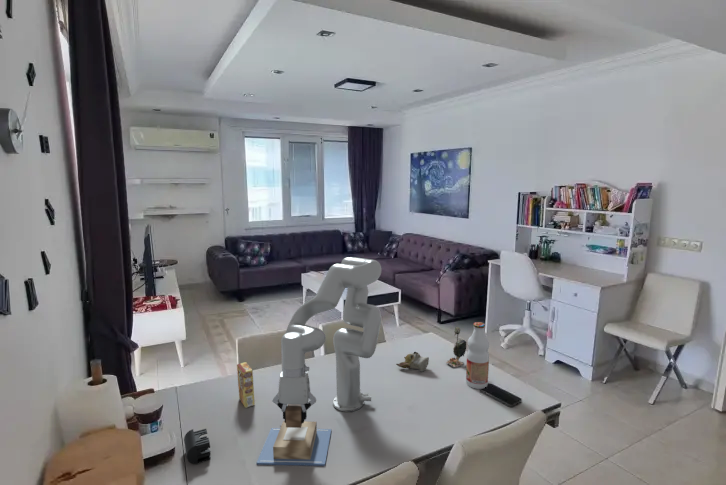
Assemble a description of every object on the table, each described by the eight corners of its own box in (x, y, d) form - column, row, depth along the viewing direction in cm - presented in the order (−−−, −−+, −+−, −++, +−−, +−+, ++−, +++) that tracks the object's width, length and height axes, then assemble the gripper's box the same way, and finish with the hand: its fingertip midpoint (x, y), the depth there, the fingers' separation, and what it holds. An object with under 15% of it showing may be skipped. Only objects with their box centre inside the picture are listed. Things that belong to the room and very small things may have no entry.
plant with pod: (471, 364, 195) (472, 325, 192) (452, 369, 191) (453, 329, 188) (460, 358, 203) (462, 320, 200) (442, 362, 198) (443, 323, 195)
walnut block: (303, 418, 137) (303, 402, 136) (300, 427, 132) (300, 410, 131) (289, 418, 137) (288, 402, 136) (285, 427, 132) (285, 410, 131)
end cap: (184, 449, 135) (183, 431, 134) (207, 443, 138) (205, 425, 137) (187, 468, 126) (185, 448, 125) (211, 460, 130) (209, 441, 128)
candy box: (255, 405, 161) (253, 369, 159) (244, 408, 159) (242, 372, 156) (248, 395, 168) (246, 361, 166) (238, 398, 166) (236, 364, 164)
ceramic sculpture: (424, 358, 183) (394, 353, 190) (424, 376, 184) (395, 370, 192) (432, 350, 192) (404, 345, 200) (433, 367, 193) (405, 362, 201)
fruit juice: (479, 391, 170) (482, 329, 166) (461, 383, 178) (463, 323, 173) (492, 384, 176) (495, 324, 172) (474, 376, 183) (476, 318, 179)
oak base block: (316, 433, 143) (316, 421, 142) (310, 461, 129) (309, 447, 128) (283, 433, 143) (283, 420, 142) (273, 460, 129) (273, 446, 129)
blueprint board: (331, 430, 144) (331, 429, 144) (324, 465, 127) (324, 463, 127) (271, 429, 145) (271, 427, 145) (256, 464, 127) (256, 462, 127)
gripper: (320, 365, 135) (321, 414, 138) (271, 364, 136) (272, 413, 138) (317, 375, 128) (318, 428, 130) (264, 375, 128) (266, 426, 131)
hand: (294, 420), depth 134 cm, fingers closed on walnut block, 5 cm apart
